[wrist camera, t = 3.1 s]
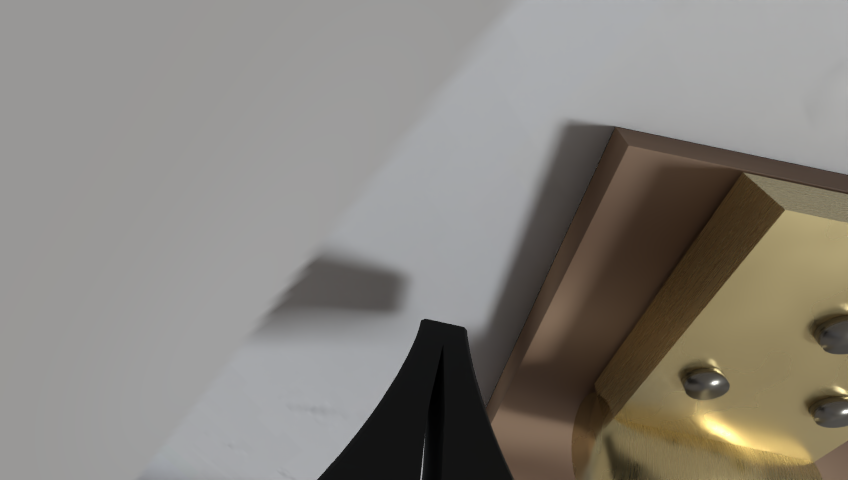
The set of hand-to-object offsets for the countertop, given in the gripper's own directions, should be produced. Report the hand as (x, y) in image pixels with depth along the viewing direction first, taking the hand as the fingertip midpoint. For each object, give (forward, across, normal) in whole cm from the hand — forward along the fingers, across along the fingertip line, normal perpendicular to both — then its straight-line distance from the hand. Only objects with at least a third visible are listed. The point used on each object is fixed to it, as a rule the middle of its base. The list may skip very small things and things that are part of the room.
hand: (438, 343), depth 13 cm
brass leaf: (+1, -8, -2) cm, 9 cm away
